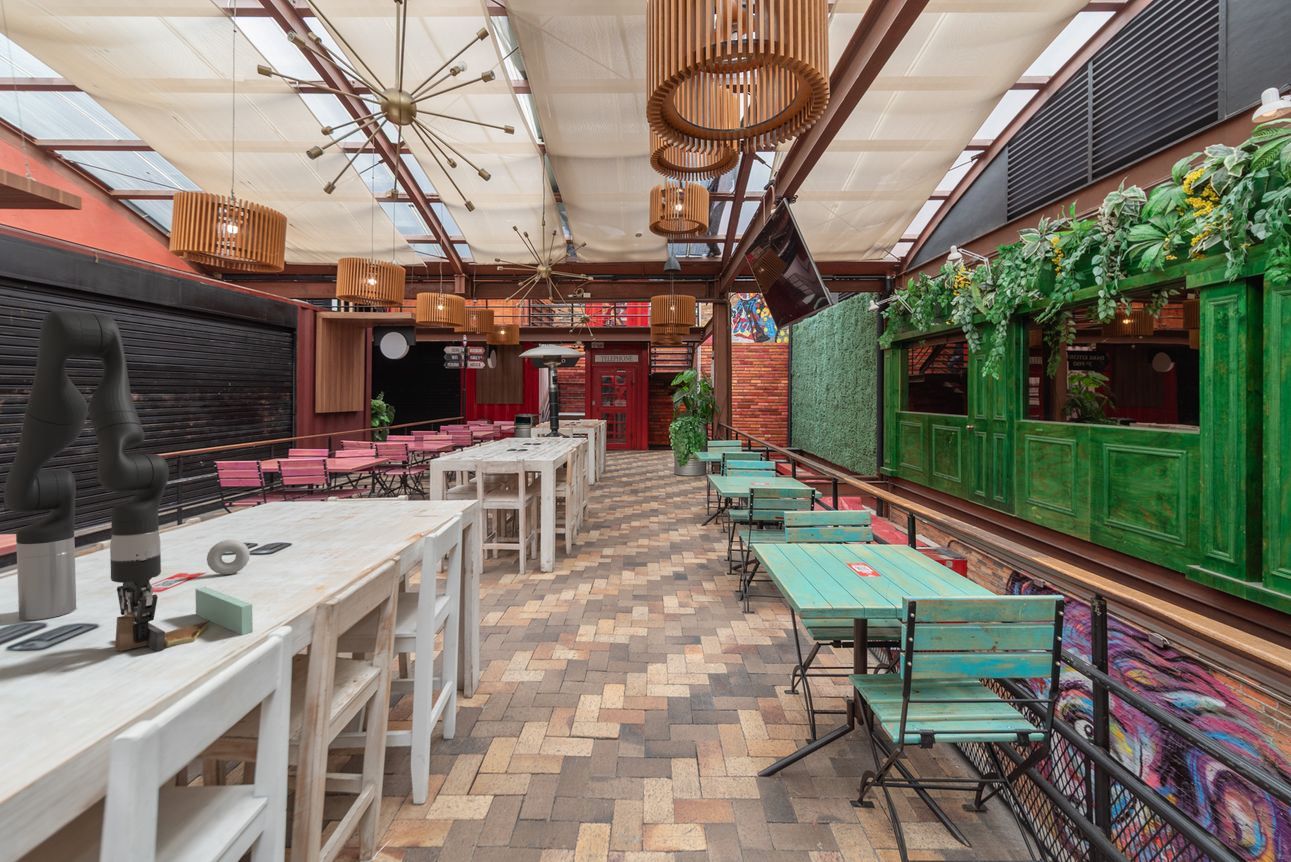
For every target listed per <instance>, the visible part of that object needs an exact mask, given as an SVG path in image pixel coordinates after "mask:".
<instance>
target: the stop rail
mask: <svg viewBox="0 0 1291 862" xmlns="http://www.w3.org/2000/svg"><path fill="white" fill-rule="evenodd" d="M195 615H196V616H198V617H201V618H203V619H205V620H206V621H208V620H209V622H212V623H215V624H216V625H218V626H221V627H223V628H226V629H228V630H230V631H232V632H234V633H237V634H239V635H242V636H243V635H247V634H251V633H253V632H254V631H253V630H254V629H253V628H254V627H253V604H252V603H249V602H247V601H245V600H241V599H239V598H236V597H233V596H231V595H229V594H226V593H223V592H220V591H218V590H215V589H213V588H211V587H207V586H202V587H199V588H198V587H197V588H195Z"/></svg>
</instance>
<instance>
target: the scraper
mask: <svg viewBox="0 0 1291 862" xmlns="http://www.w3.org/2000/svg"><path fill="white" fill-rule="evenodd" d="M142 616H145V614H143V615H142ZM132 621H133V620H132V614H131V615H126V616H124V615H121V616H117V617H116V626H115V629H116V630H115V631H116V632H115V643H114V644H115V647H114V648H116V649H117V650H118V651H120V652H123V651H127V650H132V649H136V648H140V647H146V646H147V647H149V648H151V649H152V650H154V651H155V652H158V651H159V652H160V651H164V650H165V647H164V643H165V633H166V631H165V630H162V629H161V628H159V627H157V626H156V625H154V624H152V623H150V622H148V631H149V635H148V640H147V641H144V642H140V643H135V642H134V641H133V623H132Z"/></svg>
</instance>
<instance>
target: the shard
mask: <svg viewBox="0 0 1291 862" xmlns="http://www.w3.org/2000/svg"><path fill="white" fill-rule="evenodd" d="M209 622H210V620H205V621H201V622H198V623H196V624H192V625H188V626H187V625H186V626H183V627H181V628H177V629H174V630H171V631H167V632H166V631H165V643H164V649H166V648H169V647H173V646H177V645H184V644H189V643H195V641H196V639H197V637H198V636H200V635H201V634H202V633H203V632H204V631H205V630H206V629H207V628H208V623H209Z"/></svg>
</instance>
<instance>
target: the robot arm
mask: <svg viewBox="0 0 1291 862" xmlns="http://www.w3.org/2000/svg"><path fill="white" fill-rule="evenodd" d="M119 328H120V327H119V326H118V324H117V322H116V321H115V320H114V319H113V318H112V316H109V315H106V314H102V313H94V312H81V311H71V310H70V311H68V310H52V311H49V312H48V313H47V314H46V315H45V316H44V317H43V320H42V321H41V325H40V331H39V337H38V338H39V339H38V348H37V358H36V367H35V374H34V378H33V382H32V387H31V391H30V393H29V397H28V400H27V404H26V407H25V408H26V409H25V412H24V417H23V422H22V427H21V434H20V438H19V443H18V447H17V451H16V454H15V456H14V458H13V459H14V460H13V461H12V464H11V467H10V468H9V471H8V472H9V473H8V474H7V477H6V479H5V483H4V488H3V501H4V504H5V507H6V508H7V509H8V510H10V511H11V512H14V513H30V512H32V513H33V512H41V511H50V512H49V513H48V515H47V516H44V518H42V519H40V520H38V521H36V522H34V523H31V524H29V525H26V526H24V527H22V528H20V529H18V530H17V531H16V534H15V539H16V541H15V542H16V565H17V567H16V570H17V571H16V572H17V597H18V599H17V601H18V603H17V604H18V619H20V620H21V621H35V620H43V619H44V620H45V619H50V618H54V617H60V616H63V615H66V614H69V613H71V612H74V611H75V610H77V582H76V581H77V580H76V552H75V551H76V549H75V526H76V525H75V523H76V493H77V492H76V491H77V487H76V486H77V485H76V479H75V477H74V474H73V472H71V471H70V470H69V469H65V468H57V469H56V468H55V469H54V468H52V469H42V468H43V467H44V466H45V465H46V463H48V461H50V460H51V459H53V457H55V456H57V455H59V454H60V453H61V452H63V451H64V450H66V449H67V448H68V447H69V446H70V445H72V444H73V443H74V442H76V440H77V439H79V437H80V436H81V434H83V433H82V432H83V431H84V427H85V424H86V421H87V417H88V416H89V419H90V422H91V425H92V428H93V430H94V433H95V436H96V438H97V445H98V448H97V449H98V451H97V452H98V458H97V460H98V462H97V470H96V471H97V474H96V475H97V480H98V482H99V484H100V485H101V486H102V487H103V488H104V489H106V490H107V491H109V492H113V493H121V492H130V491H137V492H136V494H135V496H134V497H133V498H132V499H130V500H127V501H124V502H121V503H119V504H116V505H114V507H112V509H111V512H110V513H111V515H110V516H111V517H110V519H111V520H110V521H111V539H110V544H109V545H110V546H109V549H110V552H109V553H110V555H109V557H110V559H109V560H110V580H111V581H112V582H115V583H118V584H119V583H122V585H118V586H117V587H116V592H117V597H118V602H119V609H120V615H121V616H126V615H131V614H132V620H133V621H132V623H133V641H134V642H135V643H140V642H144V641H147V640H148V635H149V631H148V623H150V622H152V621H154V619H155V613H156V609H157V608H156V607H157V604H158V595H157V594H153V593H154V589H153V588H154V587H153V586H152V585H151V582H150V580H152V579H153V578H157V577H159V576H160V575H161V573H162V562H161V561H162V559H161V548H162V547H161V537H160V530H159V529H160V528H159V509H160V505H161V502H162V499H163V495H164V492H165V489H166V486H167V483H168V480H169V475H170V469H169V465H168V462H167V461H166V460H165V458H164V457H162V456H161V455H160V454H155V453H142V454H129V455H128V454H127V455H125V454H124V452H123V450H128V449H132V448H134V447H136V446H139V445H141V444H142V443H143V442H144V440H145V439H146V438H145V432H144V429H143V426H142V423H141V420H140V418H139V415H138V412H137V409H136V408H135V404H134V400H133V396H132V392H131V386H130V380H129V374H128V373H129V372H128V366H127V359H126V354H125V349H124V348H125V347H124V344H123V337H122V334H121V330H120V329H119ZM70 358H87V359H88V358H89V359H100V361H101V364H102V368H103V372H102V376H101V379H100V381H99V383H98V385H97V387H96V389H95V391H94V392H93V395H91V398H90V400H89V404H88V402H87V400H86V398H85V397H84V396H83V394H82V393H81V391H80V390H79V388H78V387H76V385H75V384H74V383H73V382H72V380H71V378H70V377H69V376H68V374H67V371H66V363H67V361H68V359H70ZM88 414H89V415H88ZM143 614H145V616H142V615H143Z"/></svg>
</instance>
